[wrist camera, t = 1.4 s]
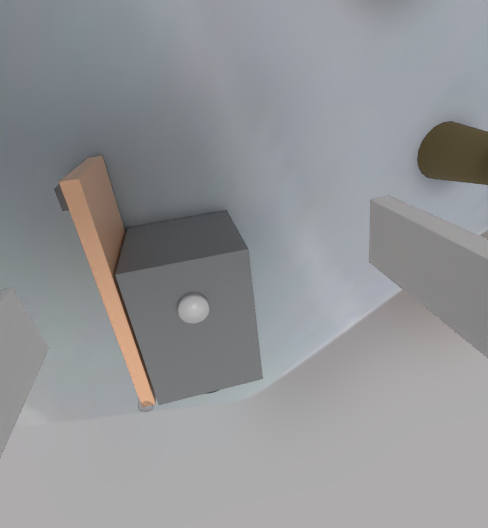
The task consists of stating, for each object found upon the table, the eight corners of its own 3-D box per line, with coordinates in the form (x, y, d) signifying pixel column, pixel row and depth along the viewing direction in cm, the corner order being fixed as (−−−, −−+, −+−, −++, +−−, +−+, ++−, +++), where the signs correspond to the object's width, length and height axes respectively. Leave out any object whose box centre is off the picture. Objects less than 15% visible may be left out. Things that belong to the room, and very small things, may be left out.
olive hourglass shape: (426, 120, 35) (528, 129, 25) (474, 122, 36) (588, 132, 26) (411, 178, 37) (497, 207, 28) (456, 178, 39) (553, 206, 29)
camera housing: (127, 227, 33) (113, 280, 23) (226, 210, 34) (250, 253, 25) (163, 348, 40) (163, 425, 31) (243, 329, 42) (266, 398, 32)
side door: (76, 159, 29) (41, 184, 21) (102, 155, 29) (78, 178, 21) (139, 347, 39) (133, 415, 31) (158, 343, 39) (157, 409, 31)
